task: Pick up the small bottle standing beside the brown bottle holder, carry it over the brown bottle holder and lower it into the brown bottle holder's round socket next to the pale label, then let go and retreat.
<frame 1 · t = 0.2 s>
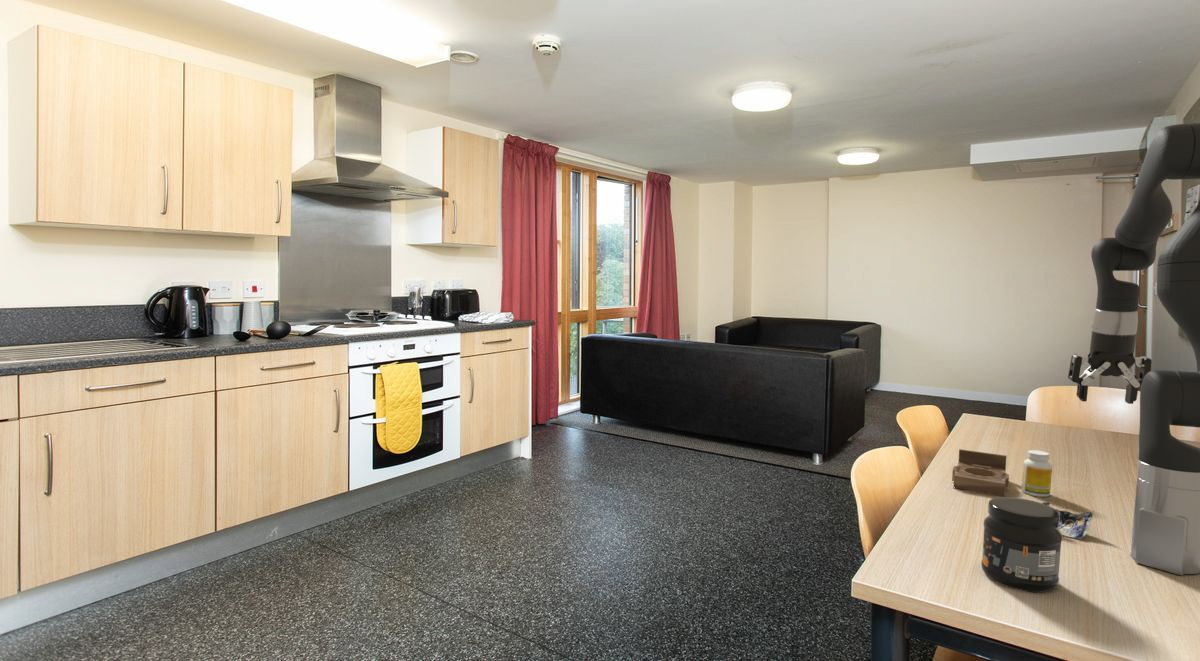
hand: (1105, 401, 140), 22 cm above the table, tool pointing down, fingers open, 8 cm apart
brown bottle holder: (979, 484, 150), on the table
supplement bottle: (1035, 494, 144), on the table
supplement container: (1018, 580, 102), on the table
snack package: (1048, 529, 125), on the table
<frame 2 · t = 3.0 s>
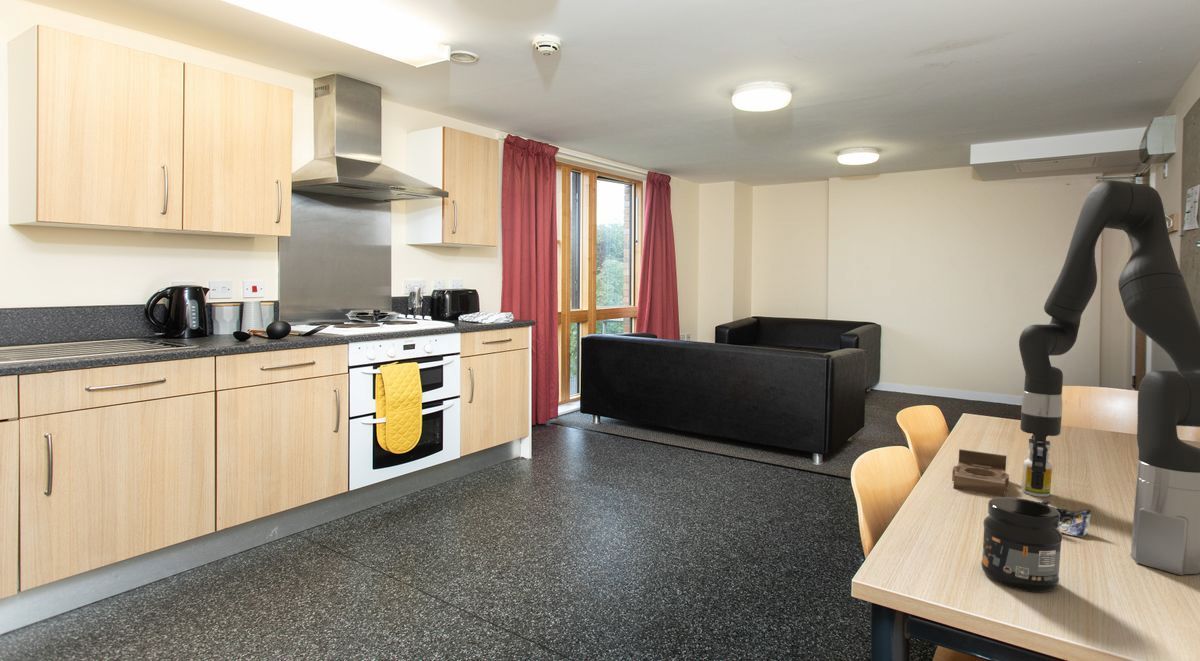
hand: (1036, 484, 144), 2 cm above the table, tool pointing down, fingers closed on supplement bottle, 5 cm apart
supplement bottle: (1035, 494, 144), on the table, touching gripper
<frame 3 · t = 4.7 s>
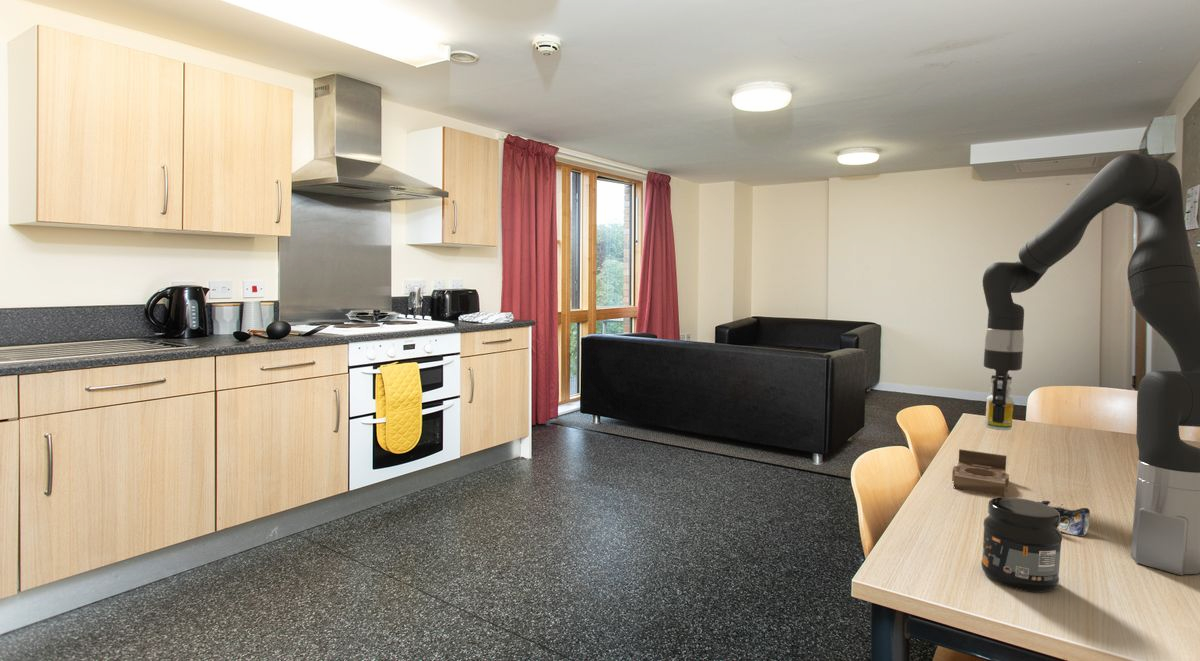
hand: (998, 419, 148), 16 cm above the table, tool pointing down, fingers closed on supplement bottle, 5 cm apart
supplement bottle: (998, 428, 148), point 14 cm above the table, touching gripper
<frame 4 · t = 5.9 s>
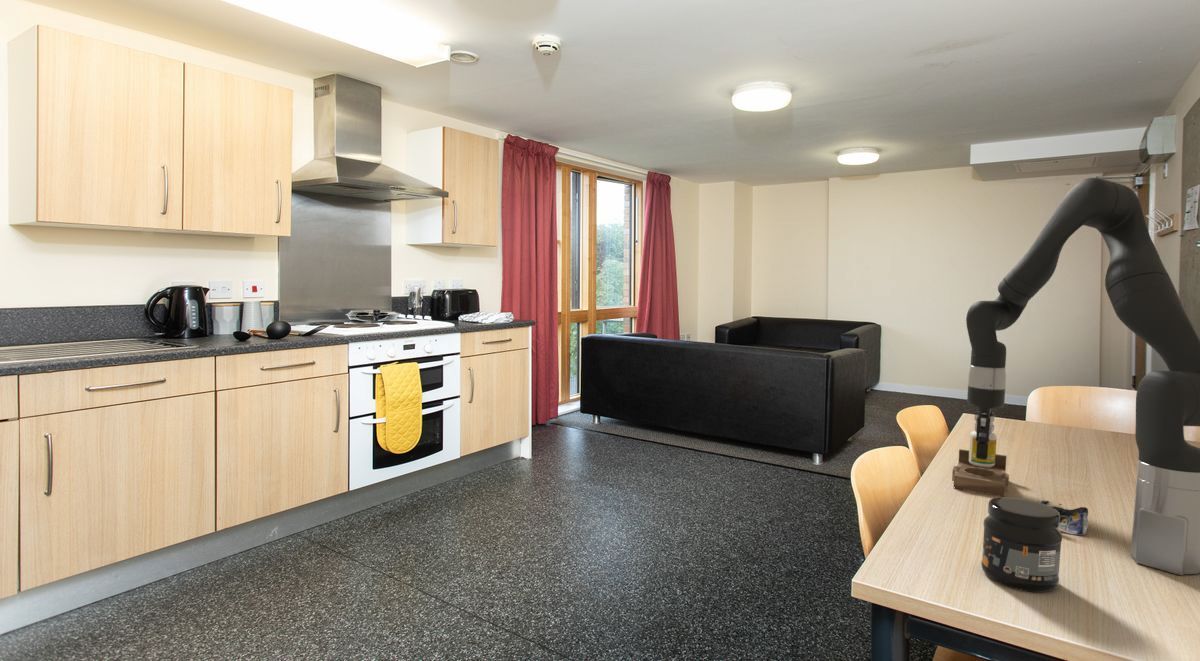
hand: (982, 455, 150), 7 cm above the table, tool pointing down, fingers closed on supplement bottle, 5 cm apart
supplement bottle: (981, 464, 150), point 5 cm above the table, touching gripper
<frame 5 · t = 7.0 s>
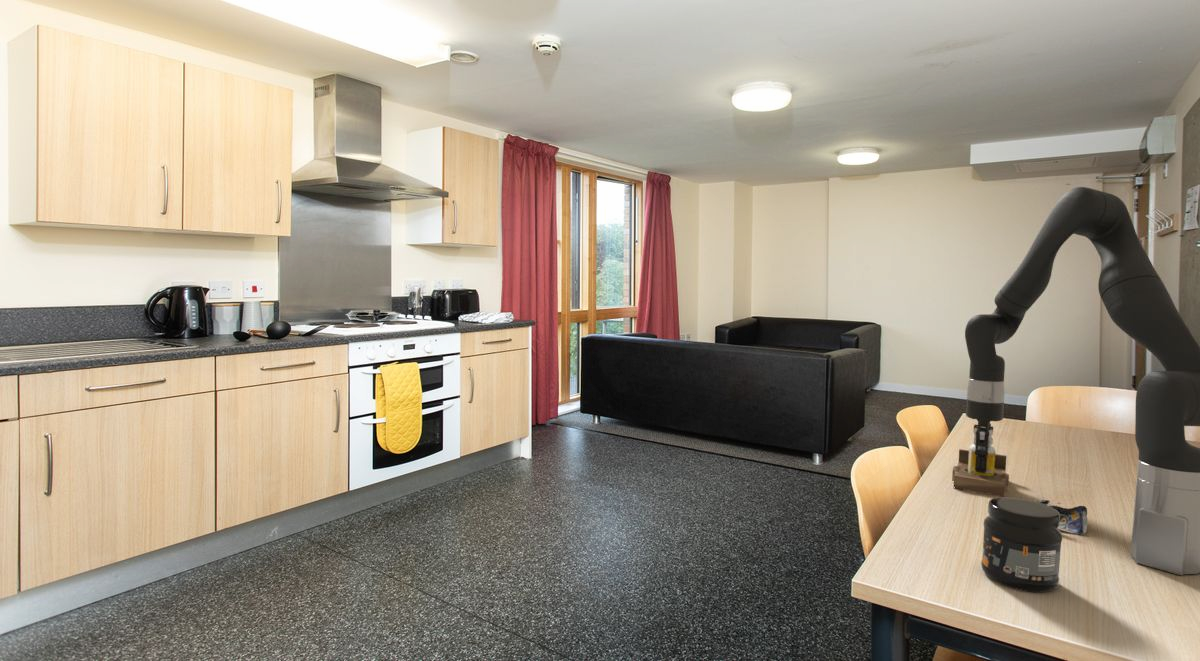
hand: (981, 468, 150), 4 cm above the table, tool pointing down, fingers closed on supplement bottle, 5 cm apart
supplement bottle: (980, 477, 150), point 2 cm above the table, touching gripper
when the fingers open (4 cm above the table, at t = 7.0 s): supplement bottle drops 2 cm, resting in brown bottle holder.
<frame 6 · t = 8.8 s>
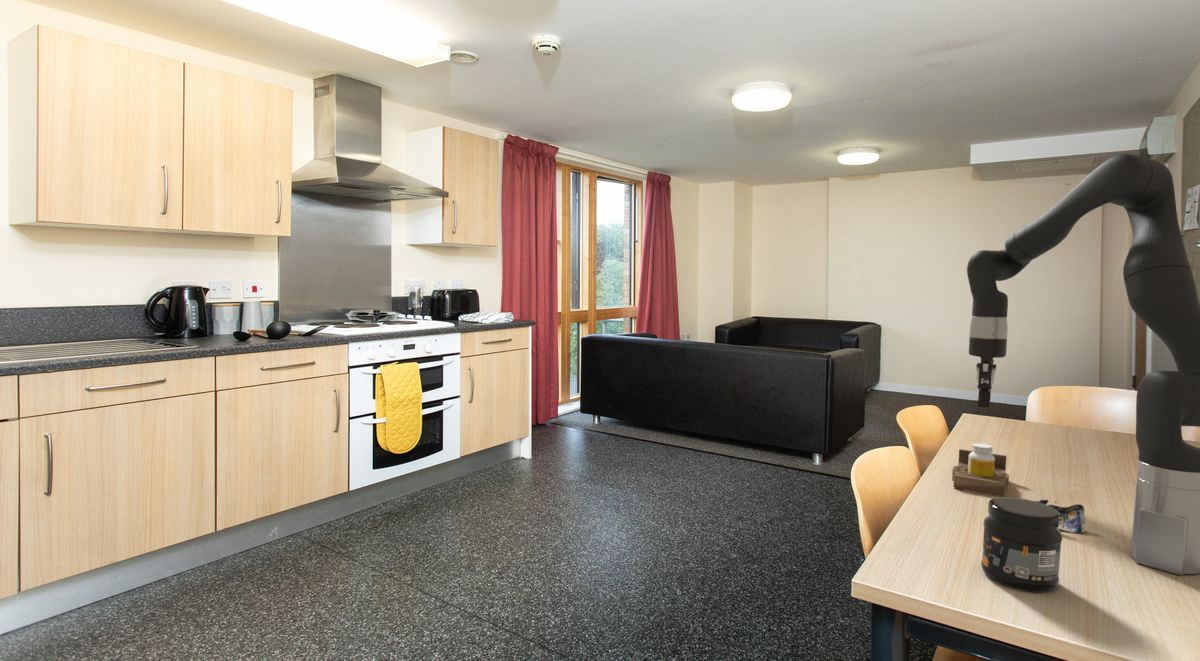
hand: (984, 404, 149), 19 cm above the table, tool pointing down, fingers open, 8 cm apart
supplement bottle: (979, 485, 150), resting in brown bottle holder
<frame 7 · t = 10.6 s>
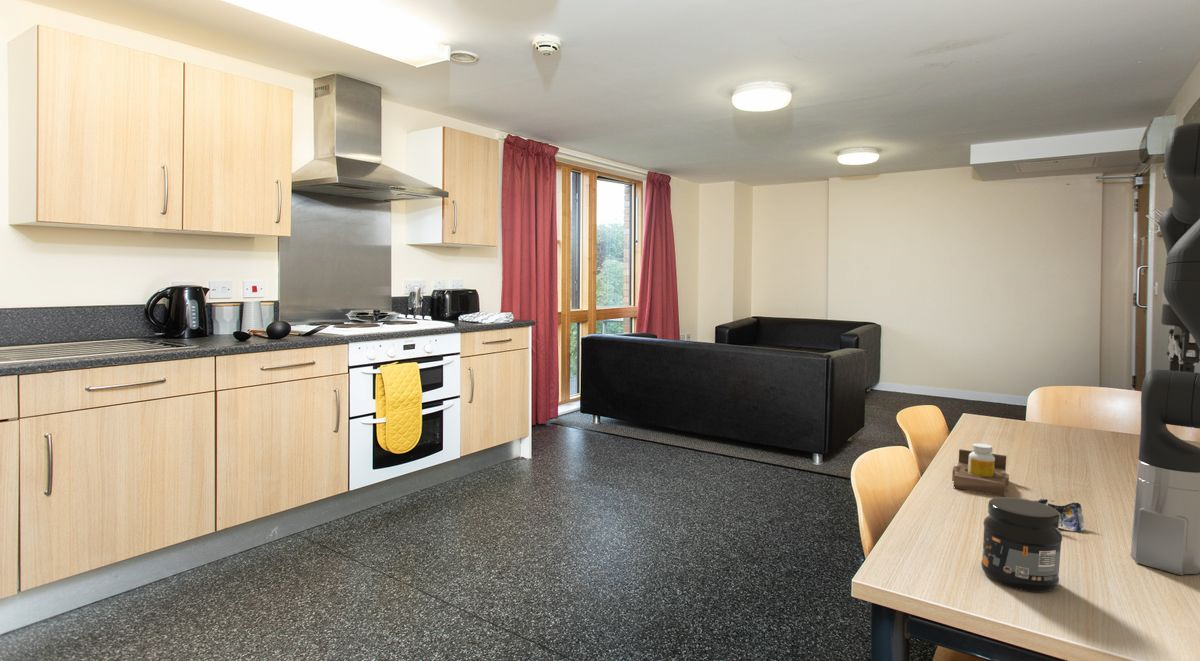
hand: (1180, 380, 132), 28 cm above the table, tool pointing down, fingers open, 8 cm apart
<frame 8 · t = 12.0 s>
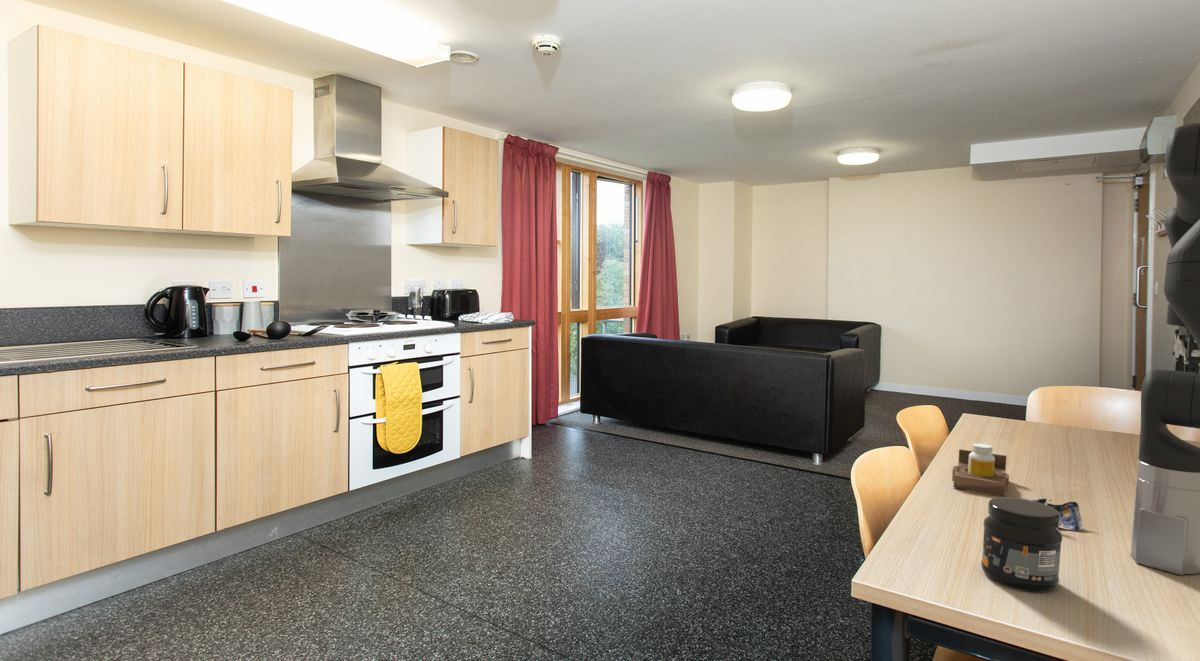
hand: (1185, 380, 131), 28 cm above the table, tool pointing down, fingers open, 8 cm apart
at the end: supplement bottle 0.4 cm off-centre in the brown bottle holder, point 0.0 cm above the brown bottle holder's base; supplement bottle tilted 0°; the gripper is holding nothing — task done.
